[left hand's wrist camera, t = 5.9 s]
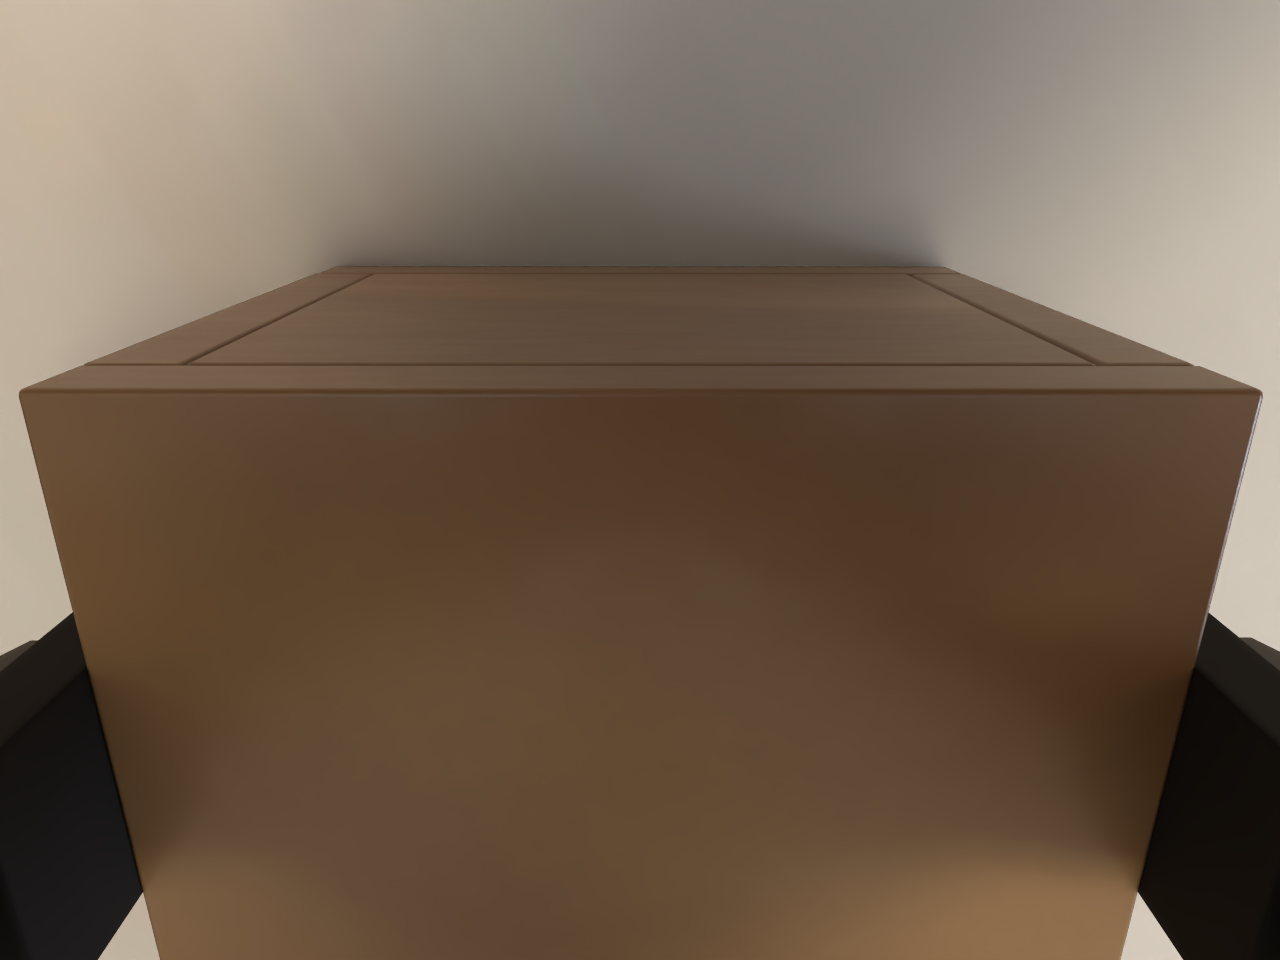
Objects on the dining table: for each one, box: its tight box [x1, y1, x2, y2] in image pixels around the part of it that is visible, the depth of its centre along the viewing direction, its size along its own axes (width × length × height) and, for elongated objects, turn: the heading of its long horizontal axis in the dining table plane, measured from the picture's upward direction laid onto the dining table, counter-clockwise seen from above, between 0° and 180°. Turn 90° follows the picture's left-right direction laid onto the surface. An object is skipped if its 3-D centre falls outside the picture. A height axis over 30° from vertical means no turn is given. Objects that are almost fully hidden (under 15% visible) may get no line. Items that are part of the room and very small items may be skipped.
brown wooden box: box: [19, 267, 1263, 960], centre depth 14 cm, size 19×10×8 cm, turn 0°
